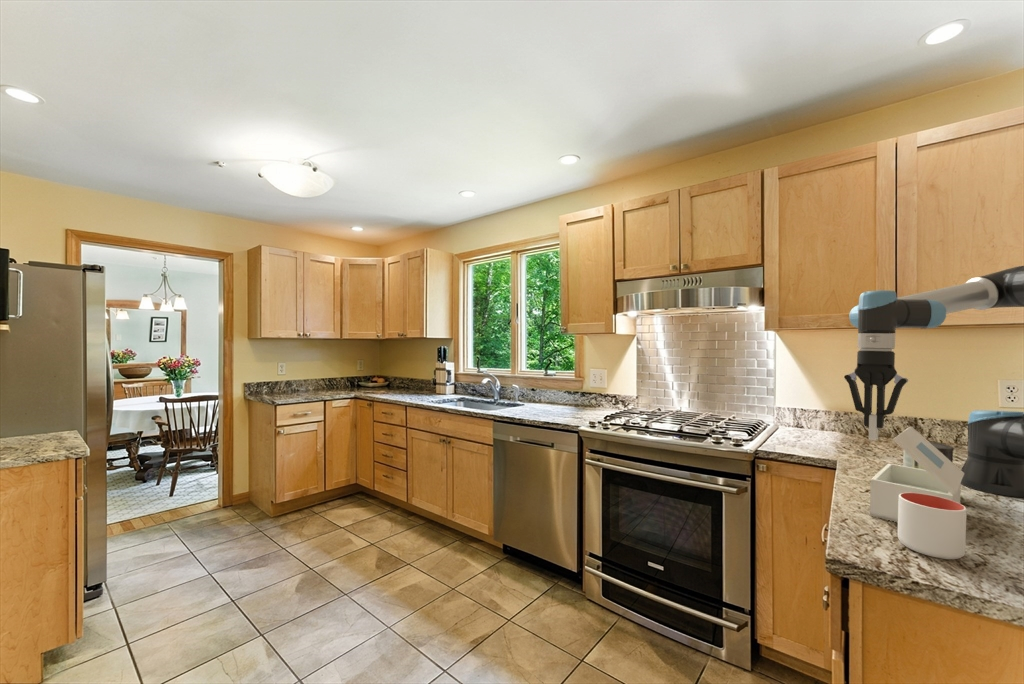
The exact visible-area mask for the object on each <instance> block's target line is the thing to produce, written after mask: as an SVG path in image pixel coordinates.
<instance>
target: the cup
mask: <svg viewBox="0 0 1024 684" xmlns="http://www.w3.org/2000/svg"><path fill="white" fill-rule="evenodd" d="M966 535H967V507H966V506H965V505H963V504H961V503H960V504H959V503H957V502H954V501H952V500H948V499H945V498H941V497H937V496H932V495H927V494H920V493H901V494H899V501H898V523H897V538H898V540H899V541H900V544H902V545H904V546H905V547H906V548H908V549H909V550H912V551H914V552H917V553H919V554H922V555H926V556H929V557H931V558H932V557H933V558H935V559H943V560H958V559H960V558H962V557H964V556H965V554H966V539H967V536H966Z"/></svg>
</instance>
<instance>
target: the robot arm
mask: <svg viewBox="0 0 1024 684" xmlns="http://www.w3.org/2000/svg"><path fill="white" fill-rule="evenodd" d="M997 308H999V309H1000V308H1024V265H1019V266H1014V267H1010V268H1006V269H1003V270H999V271H995V272H992V273H989V274H985V275H981V276H977V277H972V278H970V279H968V280H967V281H965V282H964V283H961V284H957V285H952V286H951V285H950V286H947V287H941V288H938V289H937V288H936V289H932V290H928V291H923V292H918V293H915V294H909V295H905V296H900V297H899V296H898V297H897V292H896V291H894V290H890V289H888V290H887V289H886V290H869V291H868V290H867V291H864V292H862V293H861V294H860V295H859V299H858V304H857V305H856V306H853V308H851V310H850V311H849V315H848V316H849V317H848V318H849V322H850V324H851V325H852V326H853V327H855V328H856V329H858V330H857V348H858V349H860V350H858V351H856V352H857V354H856V355H857V361H856V368H855V369H854V371H853V372H850V373H848V374H845V375H844V380H845V381H846V382H847V383H848V386H849V390H850V393H851V398H852V402H853V405H854V409H855V411H858V412H859V413H862V414H863V425H864V427H868V441H874V442H877V441H878V440H879V429H883V428H884V425H885V423H884V422H885V416H887V415H889V416H890V415H892V414H894V411H895V409H896V406H897V404H898V400H899V398H900V395H901V393H902V389H903V387H904V386H905V385H906V384H907V383H908V382H909V379H908V378H907V377H903V376H901V375H899V374H898V372H897V370H896V368H895V363H896V362H895V358H896V356H895V355H896V353H895V352H894V351H893V350H895V349H896V331H897V329H922V330H923V329H925V330H926V329H934V328H935V329H936V328H938V327H939V326H941V325H942V324H943V323H944V322H945V321H946V318H947V314H948V315H949V314H953V313H957V312H962V311H966V310H968V311H969V310H972V309H974V310H977V311H982V310H984V311H985V310H989V309H997ZM857 377H858V378H859V380H860V381H861V382H862V383H863V389H864V394H863V395H864V396H863V402H862V398H861V395H860V391H859V387H858V384H857ZM893 379H894V381H893V382H894V384H895V385H894V387H893V390H892V392H891V395H890V398H889V400H888V404H887V407H886V408H885V406H886V405H885V404H886V400H885V399H886V386H887V385H888V384H889V383H890V382H892V380H893ZM874 386H876V413H875V414H873V388H874ZM960 470H961V471H963V472H964V476H963V478H962V480H961V486H962V485H963V486H965V487H968V488H971V489H973V490H977V491H980V492H986V493H989V494H995V495H999V496H1007V497H1016V498H1024V411H1017V410H1015V411H1013V410H982V409H981V410H979V409H977V410H973V411H970V413H969V416H968V422H967V456H966V460H965V461H964V463H963V466H962V467H961V469H960Z"/></svg>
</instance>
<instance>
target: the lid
mask: <svg viewBox="0 0 1024 684" xmlns="http://www.w3.org/2000/svg"><path fill="white" fill-rule="evenodd" d="M892 441H893V442H895V444H897V445H898V446H899V447H900V448H901V449H902V450H904V451H905V452H906V453H908V454H909V455H910V456H911V457H912V458H913V459H914V460H915V461H916V462H917V463H918V464H919V465H921V466H922V467H923V468H924V469H925V470H926V471H927V472H928V473H929V474H930V475H931V476H932V477H934V478H935V479H936V480H937V481H938V482H939V483H940V484H941V485H942V486H943V487H944V488H945V489H947V490H948V491H949V492H950V493H951V494H952V495H953V494H955V493H956V492H957V490H958V488H959V485H960V483H961V480H962V478H963V476H964V472H963V471H961V469H960V468H959V467H958V466H957V465H956V464H954V463H952V462H951V461H950V460H949V459H948V458H947V457H946V456H944V455H943V454H942V453H941V452H940V451H939V450H938V449H937V448H935V447H934V446H933V445H932V444H931V443H930V442H931V441H928V440H927V439H926V438H925V437H924V436H923V435H922V434H921V433H920V432H919V431H918V430H916V429H915V428H914V427H913V426H912V425H910V426H909V427H907V428H906V429H905V430H903V431H902V432H901V433H899V434H898V435H896V436H895V437H894V438H893V439H892Z"/></svg>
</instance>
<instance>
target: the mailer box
mask: <svg viewBox="0 0 1024 684" xmlns="http://www.w3.org/2000/svg"><path fill="white" fill-rule="evenodd" d="M961 486H962V484H961V483H960V485H959V488H958V490H957V492H956V493H955V494H953V495H952V494H951V493H950V492H949V491H948V490H947V489H945V488H944V487H943V486H942V485H941V484H940V483H939V482H938V481H937V480H936V479H935V478H934V477H932V476H931V475H930V474H929V473H928V472H927V471H926V470H923V469H917V468H912V467H906V466H903V465H899V464H894V463H888V462H887V464H886V465H885V466H884V467H882V468H881V469H880V470H879V471H878V472H877V473H876V474H875V475H874V476H873V477H871V479H870V491H869V492H870V494H869V516H870V515H871V516H870V517H872V516H874V517H873V518H876V517H878V518H877V519H880V518H882V519H881V520H884V519H887V520H886V521H888V520H890V521H889V522H892V521H894V522H893V523H895V522H897V523H896V524H898V501H899V494H901V493H920V494H927V495H932V496H937V497H941V498H945V499H948V500H952V501H954V502H957V503H959V504H961V495H962V494H961V490H962V489H961V488H962V487H961Z"/></svg>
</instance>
